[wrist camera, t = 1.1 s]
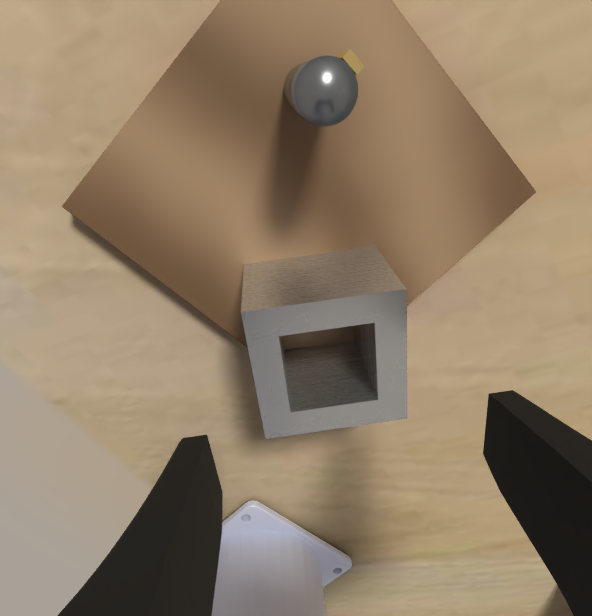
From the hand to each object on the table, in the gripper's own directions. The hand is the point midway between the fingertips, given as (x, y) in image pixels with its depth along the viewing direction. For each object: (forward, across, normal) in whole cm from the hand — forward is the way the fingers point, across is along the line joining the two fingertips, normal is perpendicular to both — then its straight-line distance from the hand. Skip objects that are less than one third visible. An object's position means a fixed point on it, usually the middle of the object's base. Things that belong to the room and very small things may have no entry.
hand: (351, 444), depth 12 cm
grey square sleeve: (+8, 0, 0) cm, 8 cm away
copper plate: (+8, 0, -4) cm, 10 cm away
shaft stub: (+8, 0, -8) cm, 12 cm away
